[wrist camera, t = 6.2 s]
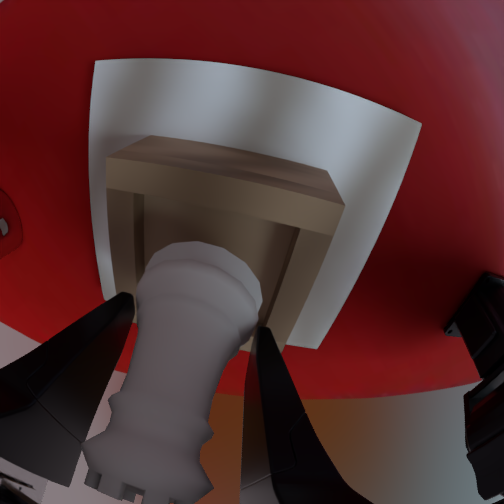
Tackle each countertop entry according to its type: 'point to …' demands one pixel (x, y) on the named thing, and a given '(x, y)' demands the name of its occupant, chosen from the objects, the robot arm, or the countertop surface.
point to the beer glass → (9, 226)
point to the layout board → (243, 180)
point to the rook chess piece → (174, 374)
